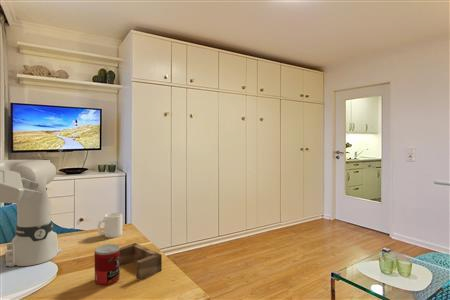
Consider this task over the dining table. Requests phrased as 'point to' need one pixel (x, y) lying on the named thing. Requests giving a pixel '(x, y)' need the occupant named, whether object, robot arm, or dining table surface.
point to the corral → (141, 259)
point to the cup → (111, 225)
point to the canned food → (107, 264)
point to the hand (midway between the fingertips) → (39, 190)
